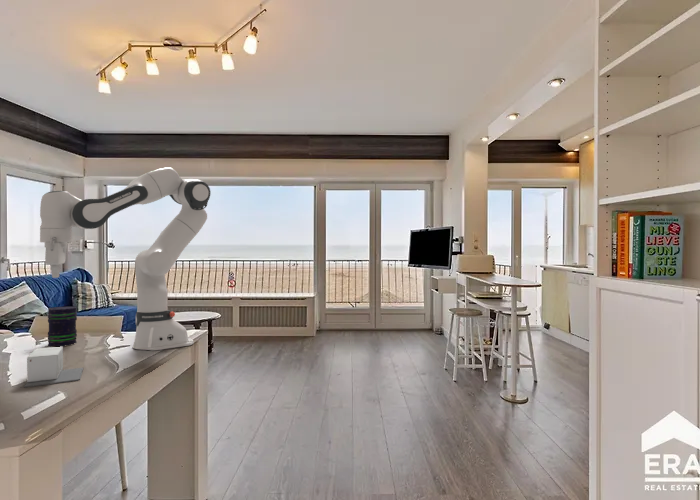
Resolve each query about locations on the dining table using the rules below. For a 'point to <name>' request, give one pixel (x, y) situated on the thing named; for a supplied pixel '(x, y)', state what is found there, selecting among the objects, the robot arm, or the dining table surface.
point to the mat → (60, 378)
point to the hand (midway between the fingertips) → (55, 277)
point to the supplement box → (44, 364)
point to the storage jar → (62, 325)
